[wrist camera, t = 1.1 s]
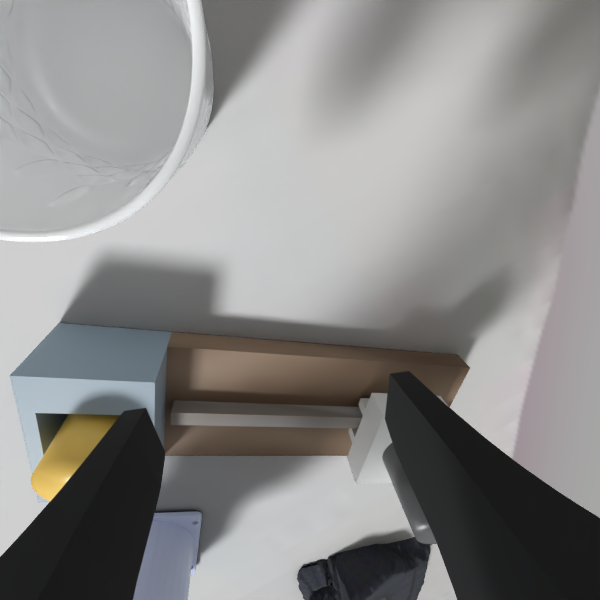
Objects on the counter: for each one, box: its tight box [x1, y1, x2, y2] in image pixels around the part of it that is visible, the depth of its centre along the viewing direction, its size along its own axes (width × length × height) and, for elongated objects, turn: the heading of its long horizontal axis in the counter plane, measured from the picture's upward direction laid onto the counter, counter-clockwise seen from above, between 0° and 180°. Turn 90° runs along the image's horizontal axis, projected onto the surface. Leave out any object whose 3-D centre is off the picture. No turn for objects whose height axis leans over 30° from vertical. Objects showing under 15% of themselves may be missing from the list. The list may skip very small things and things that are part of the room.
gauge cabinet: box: [10, 323, 172, 502], centre depth 19 cm, size 9×6×4 cm, turn 168°
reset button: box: [31, 414, 120, 501], centre depth 17 cm, size 4×4×4 cm
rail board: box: [164, 332, 470, 456], centre depth 23 cm, size 9×20×2 cm, turn 78°
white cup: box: [0, 0, 214, 242], centre depth 10 cm, size 8×8×10 cm
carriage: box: [347, 393, 448, 544], centre depth 20 cm, size 6×5×8 cm
